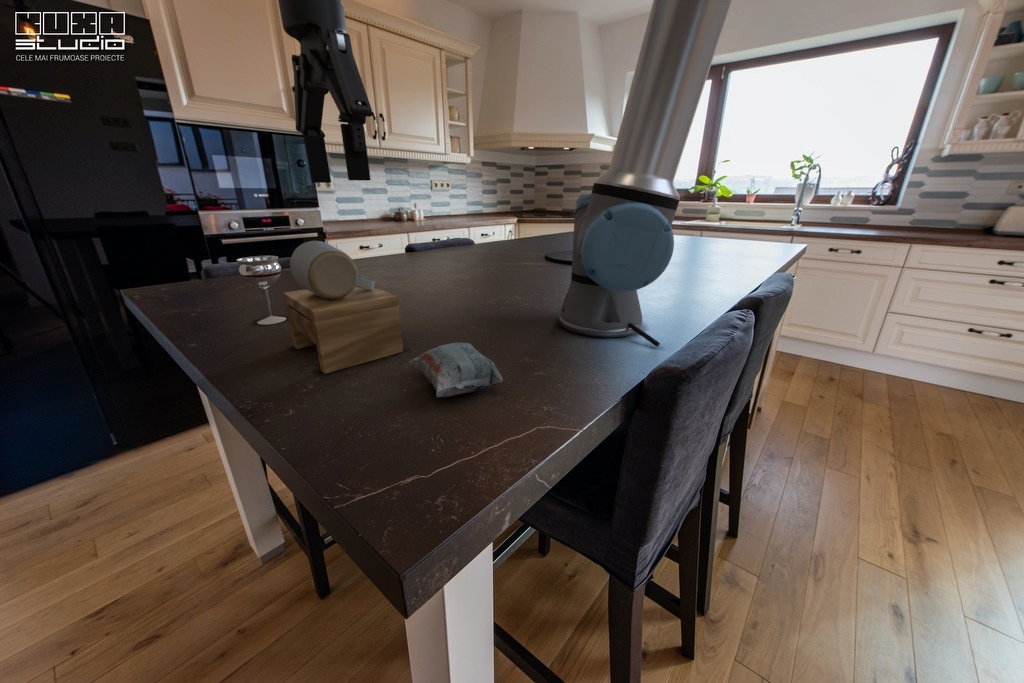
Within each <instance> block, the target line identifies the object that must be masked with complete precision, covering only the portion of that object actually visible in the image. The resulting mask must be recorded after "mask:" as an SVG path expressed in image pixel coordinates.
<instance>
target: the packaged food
mask: <svg viewBox="0 0 1024 683" xmlns="http://www.w3.org/2000/svg"><path fill="white" fill-rule="evenodd" d="M408 364H409V365H411V366H412V367H413V368H415V369H417V370H418V372H419V373H420V374H422V375H423V376H424V377H425V378H426V379H428V381H429V382H430V383H431V384H432V386H433V388H434V390H435V392H436V393H435V394H436V398H450V397H454V396H457V395H458V396H459V395H464V394H470V393H473V392H478V391H482V390H483V391H484V390H488V389H491V388H494V387H495V386H496V385H498V384H501V383H503V381H504V378H503V377H502V375H501V373H500V371H499V369H498V367H497V365H496V364H495V363H494V362H493V361H492V360H491V359H489V358H487V357H486V356H484V355H483V354H482V353H481V352H479V350H477V349H476V348H475V347H474V346H473V345H472V343H470V342H457V341H455V342H451V343H447V344H442V345H438V346H436V347H434V348H431V349H428V350H427V351H424V352H423V353H422V354H420V355H419V356H416V357H414V358H413V359H411V360H409V361H408Z"/></svg>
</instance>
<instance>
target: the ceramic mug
mask: <svg viewBox="0 0 1024 683" xmlns="http://www.w3.org/2000/svg"><path fill="white" fill-rule="evenodd" d="M289 267H290V272H291V275H292V278H293V279H294V281H295V282H296V283H297V284H298V285H299V286H300V287H302V288H303V289H307V290H309V291H310V292H312V293H314V294H316V295H317V296H320V297H322V298H326V299H339V298H342V297H345V296H347V295H348V294H349V293H351V292H352V291H353V289H354V288H355V287H358V288H362V289H365V290H373V288H374V287H375V284H376V281H375V280H374V279H371V278H369V277H367V276H364V275H362V274H359V272H358V267H357V264H356V263H355V261H354V260H353V259H352V258H351V256H350V255H349V254H347V253H346V252H345V251H343V250H341V249H339V248H337V247H335V246H333V245H331V244H329V243H327V242H325V241H321V240H310V241H306V242H303V243H301V244H300V245H298V246H297V247H296V248H295V249H294V251H293V252H292V255H291V257H290V262H289Z"/></svg>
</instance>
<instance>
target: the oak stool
mask: <svg viewBox="0 0 1024 683" xmlns="http://www.w3.org/2000/svg"><path fill="white" fill-rule="evenodd" d="M282 296H283V300H284V304H285V309H286V314H287V318H288V322H289V323H288V324H289V328H290V333H291V337H292V342H293V347H294V348H295V349H296V350H299V349H303V348H307V347H308V348H309V347H312V346H316V351H317V356H318V362H319V367H320V371H321V372H322V373H323V374H325V375H326V374H329V373H333V372H336V371H340V370H344V369H348V368H351V367H354V366H358V365H361V364H365V363H369V362H372V361H376V360H379V359H382V358H386V357H390V356H393V355H396V354H401V353H403V352H404V345H403V336H402V325H401V315H400V306H399V297H398V295H396V294H393V293H390V292H388V291H386V290H382V289H380V288H377V287H375V286H374V288H373V290H365V289H362V288H358V287H355V288H354V289H353V291H352V292H351V293H349V294H348V295H347V296H345V297H342V298H339V299H326V298H322V297H320V296H317V295H316V294H314V293H312V292H310V291H309V290H307V289H305V288H303V289H299V290H291V291H284V292H282Z"/></svg>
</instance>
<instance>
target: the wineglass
mask: <svg viewBox="0 0 1024 683" xmlns="http://www.w3.org/2000/svg"><path fill="white" fill-rule="evenodd" d="M278 260H279V256H277V255H255V256H254V255H253V256H246V257H242V258H237V259H236V262H237V263H238V264H239V266H238V273H239V275H240V277H241V279H242V280H244V282H247V283H248V284H249V285H252V286H255V287H258V288H259V289H260V290H262V293H263V297H264V300H265V303H266V304H265V305H266V307H267V311H268V314H269V316H267V317H264V318H262V319H259V320H257V322H256V323H257V324H258V325H274V324H278V323H283V322H285V321H287V317H285V316H280V315H279V316H276V315H273V314H272V308H271V302H270V297H269V291H268V289H269V288H270V286H271V285H273V284H274V283H276V282H277V281H278V280H279V278H280V277H281V274H282V270H283V269H282V267H281V265H280V263H278Z"/></svg>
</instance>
